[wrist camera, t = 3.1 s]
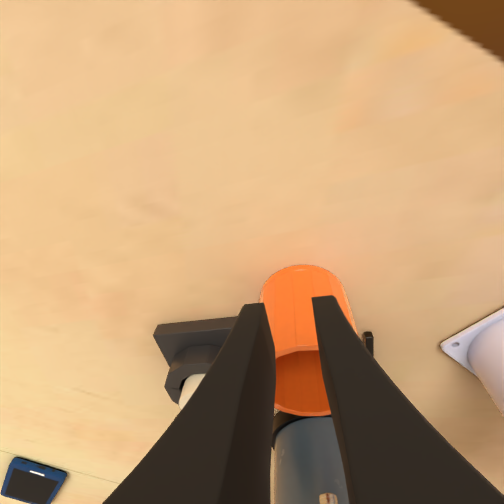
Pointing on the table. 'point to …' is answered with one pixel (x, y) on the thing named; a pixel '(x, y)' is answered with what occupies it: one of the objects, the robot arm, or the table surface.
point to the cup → (299, 335)
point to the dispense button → (189, 388)
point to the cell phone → (32, 482)
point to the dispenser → (309, 457)
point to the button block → (190, 349)
